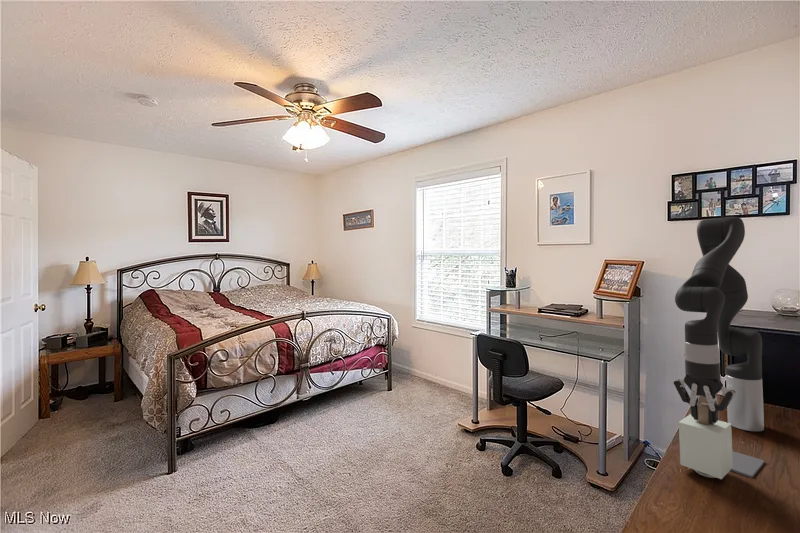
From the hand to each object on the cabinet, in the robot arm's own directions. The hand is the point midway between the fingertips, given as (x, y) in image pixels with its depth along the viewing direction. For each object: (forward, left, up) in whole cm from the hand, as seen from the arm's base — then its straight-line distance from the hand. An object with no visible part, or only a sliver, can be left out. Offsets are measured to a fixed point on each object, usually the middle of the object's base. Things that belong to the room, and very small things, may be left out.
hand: (704, 420), depth 103 cm
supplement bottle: (0, 0, -15) cm, 15 cm away
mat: (-12, +2, -14) cm, 19 cm away
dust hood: (0, 0, -13) cm, 13 cm away
